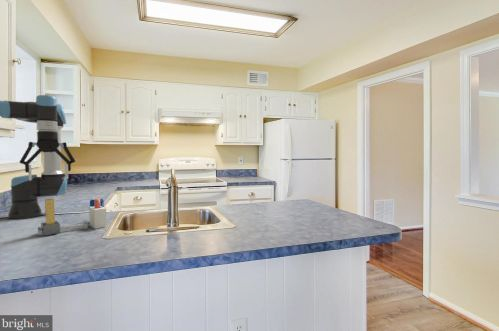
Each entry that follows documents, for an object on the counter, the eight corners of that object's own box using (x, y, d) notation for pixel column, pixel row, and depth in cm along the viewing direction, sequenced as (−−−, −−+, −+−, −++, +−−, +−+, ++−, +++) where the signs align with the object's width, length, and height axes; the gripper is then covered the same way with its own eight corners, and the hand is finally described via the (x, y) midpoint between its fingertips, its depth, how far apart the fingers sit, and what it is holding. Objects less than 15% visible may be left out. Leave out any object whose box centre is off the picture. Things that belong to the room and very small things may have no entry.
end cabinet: (89, 224, 147) (89, 206, 147) (100, 223, 151) (100, 205, 150) (95, 228, 140) (94, 209, 140) (106, 226, 143) (106, 208, 143)
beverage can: (98, 223, 151) (97, 199, 151) (87, 222, 153) (86, 199, 152) (106, 220, 158) (106, 197, 157) (96, 219, 159) (95, 197, 159)
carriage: (41, 231, 133) (40, 198, 133) (56, 229, 137) (55, 197, 137) (43, 235, 127) (42, 201, 127) (60, 233, 131) (59, 199, 131)
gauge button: (94, 215, 145) (93, 199, 145) (99, 215, 147) (99, 199, 147) (95, 216, 143) (95, 200, 143) (101, 215, 145) (100, 199, 145)
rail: (37, 234, 131) (37, 227, 130) (85, 227, 143) (85, 220, 143) (38, 235, 128) (38, 228, 128) (87, 228, 141) (87, 221, 141)
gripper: (11, 129, 119) (13, 181, 120) (81, 131, 136) (82, 178, 137) (10, 130, 125) (12, 180, 126) (77, 132, 142) (78, 177, 143)
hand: (49, 179), depth 131 cm, fingers open, 13 cm apart
